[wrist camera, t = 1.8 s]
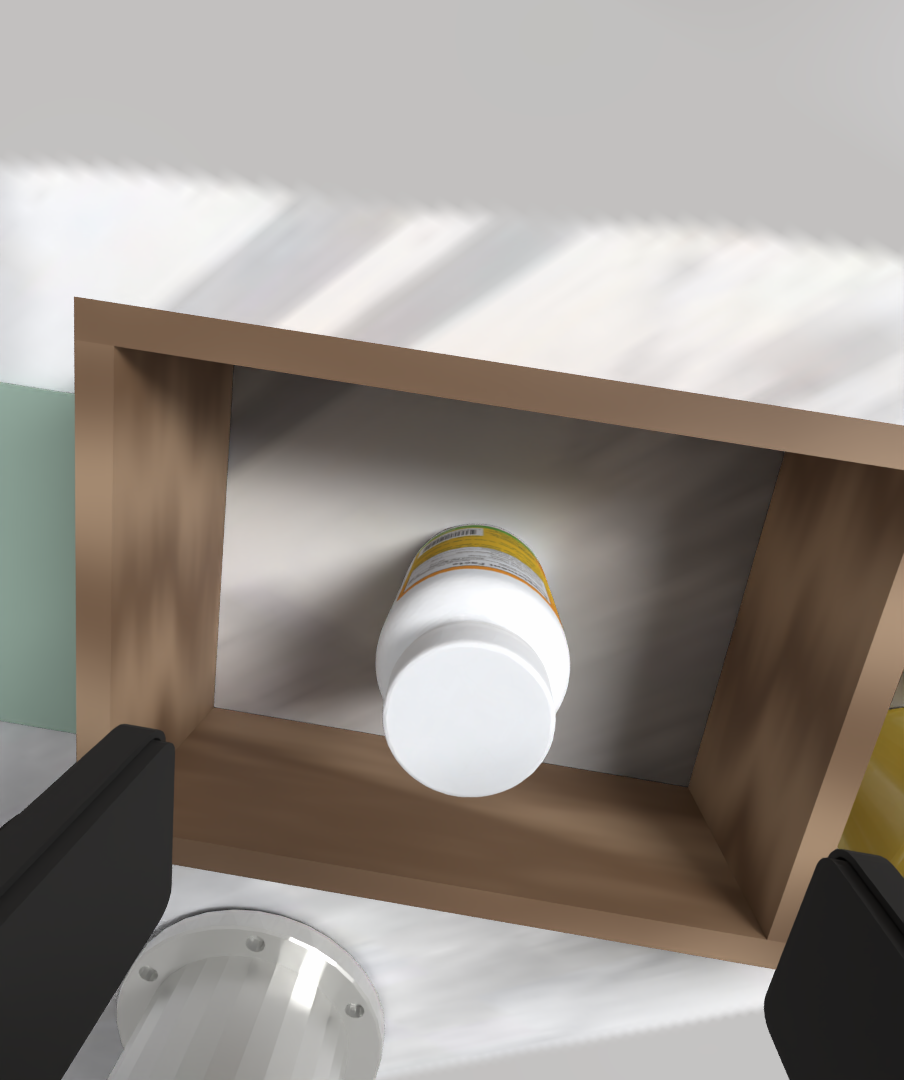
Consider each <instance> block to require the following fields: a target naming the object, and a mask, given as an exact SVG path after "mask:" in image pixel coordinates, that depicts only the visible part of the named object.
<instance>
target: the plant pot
mask: <svg viewBox="0 0 904 1080" xmlns="http://www.w3.org/2000/svg"><path fill="white" fill-rule="evenodd" d="M838 849H845V850H851V851H856V852H862V853H868V854H874V855H879V856H882V857H884V858H886V859H887V860H888V861H889V862H890V863H892V864H893V865H894V867H895V868H896V869H897V870H898V871H899V873H900V874H901V875H902V876H903V877H904V708H896V709H891V710H888V712H887V715H886V718H885V720H884V723H883V726H882V728H881V731H880V734H879V737H878V739H877V742H876V745H875V747H874V750H873V753H872V755H871V758H870V761H869V763H868V766H867V769H866V771H865V774H864V777H863V780H862V782H861V785H860V788H859V790H858V793H857V796H856V798H855V801H854V804H853V806H852V809H851V812H850V815H849V817H848V820H847V823H846V825H845V828H844V831H843V833H842V836H841V839H840V841H839V844H838Z"/></svg>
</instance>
